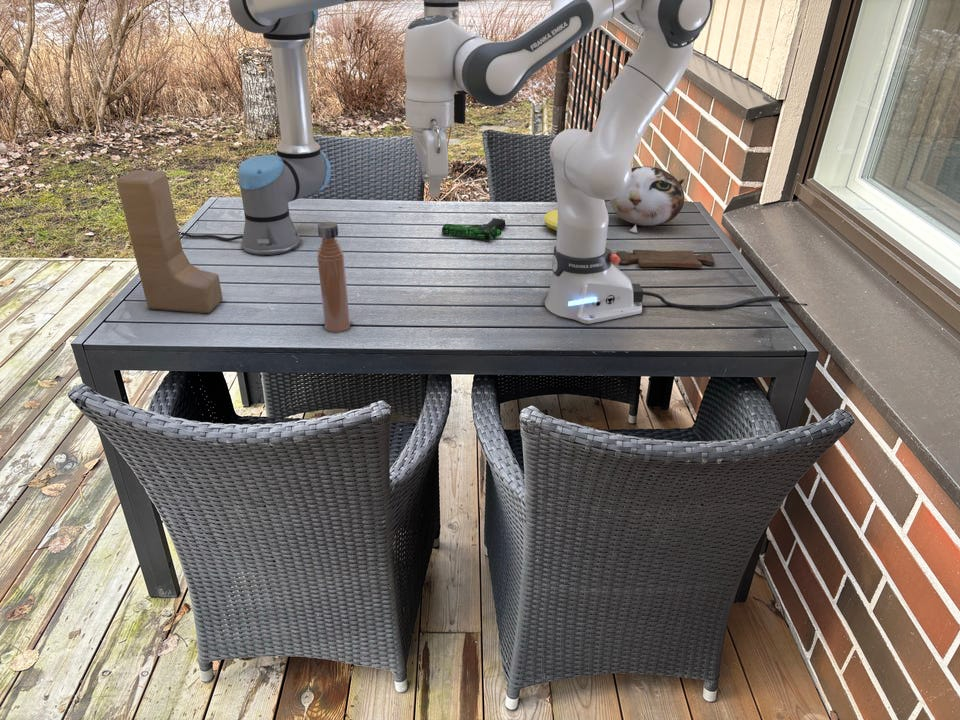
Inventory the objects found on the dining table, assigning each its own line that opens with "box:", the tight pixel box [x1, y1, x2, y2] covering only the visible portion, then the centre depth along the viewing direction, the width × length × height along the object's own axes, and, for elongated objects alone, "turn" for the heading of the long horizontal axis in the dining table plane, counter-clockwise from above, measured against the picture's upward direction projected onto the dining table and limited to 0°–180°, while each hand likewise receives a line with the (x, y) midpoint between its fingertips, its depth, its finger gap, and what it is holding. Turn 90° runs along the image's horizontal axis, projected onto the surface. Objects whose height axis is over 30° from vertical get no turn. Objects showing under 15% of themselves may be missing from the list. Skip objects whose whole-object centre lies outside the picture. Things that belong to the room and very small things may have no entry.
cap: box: [317, 221, 339, 239], centre depth 146 cm, size 4×4×2 cm
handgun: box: [441, 217, 506, 242], centre depth 207 cm, size 16×3×15 cm
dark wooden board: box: [615, 249, 715, 269], centre depth 190 cm, size 26×2×10 cm
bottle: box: [316, 237, 351, 333], centre depth 151 cm, size 6×6×23 cm
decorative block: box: [116, 169, 224, 314], centre depth 157 cm, size 8×15×30 cm, turn 82°
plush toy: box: [609, 165, 685, 233], centre depth 210 cm, size 22×18×20 cm
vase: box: [543, 208, 558, 232], centre depth 209 cm, size 16×16×7 cm
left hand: (442, 128), depth 166 cm, fingers open, 13 cm apart
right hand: (430, 188), depth 138 cm, fingers open, 8 cm apart
